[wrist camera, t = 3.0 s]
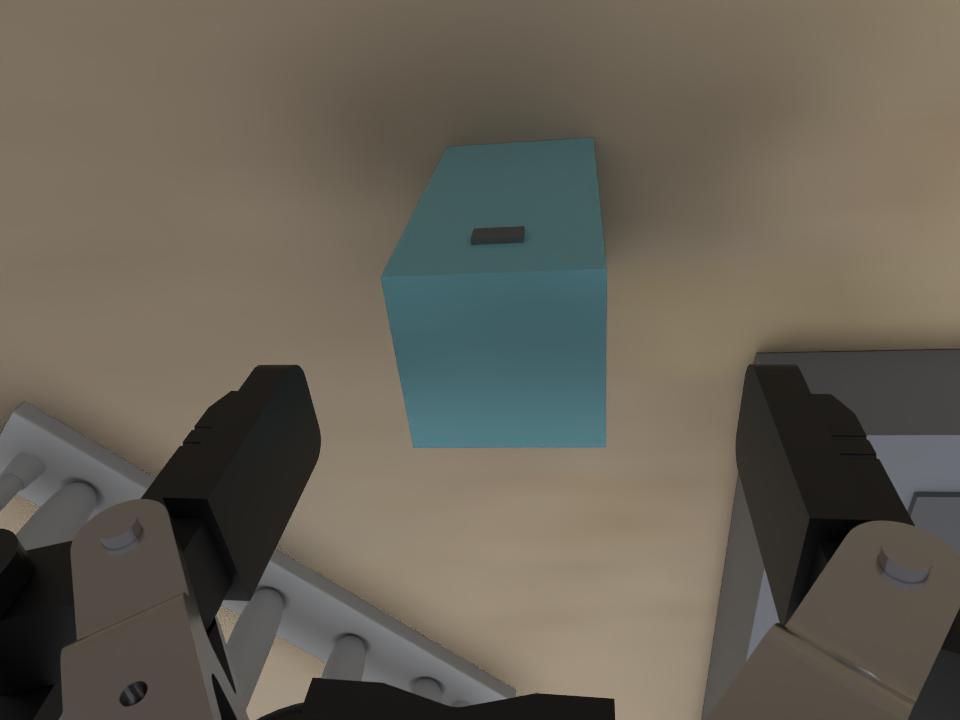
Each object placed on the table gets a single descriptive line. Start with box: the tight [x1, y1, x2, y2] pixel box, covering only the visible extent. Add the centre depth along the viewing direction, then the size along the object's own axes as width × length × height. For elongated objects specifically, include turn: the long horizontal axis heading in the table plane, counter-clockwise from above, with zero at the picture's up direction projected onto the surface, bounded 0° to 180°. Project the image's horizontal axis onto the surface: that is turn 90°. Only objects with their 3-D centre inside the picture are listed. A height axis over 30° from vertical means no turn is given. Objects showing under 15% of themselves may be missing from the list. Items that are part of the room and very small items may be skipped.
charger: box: [381, 138, 607, 448], centre depth 16 cm, size 4×4×8 cm
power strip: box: [702, 349, 960, 720], centre depth 25 cm, size 10×24×4 cm, turn 5°
